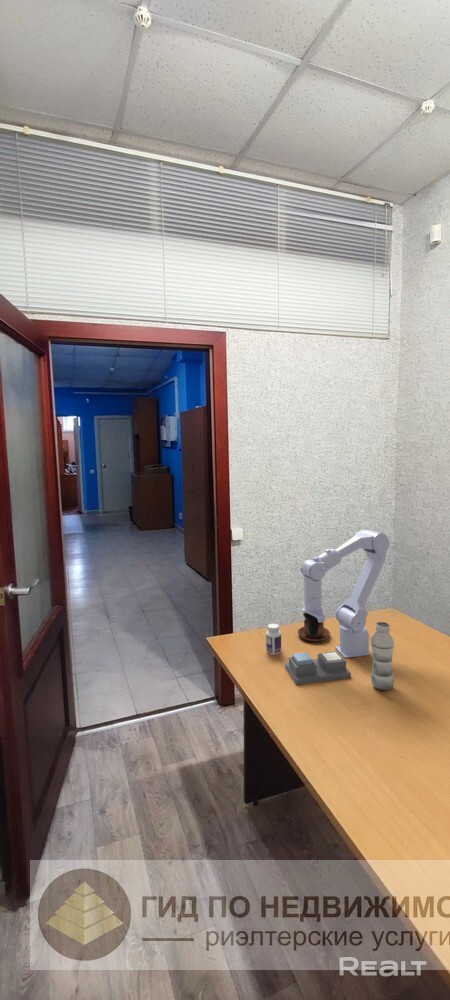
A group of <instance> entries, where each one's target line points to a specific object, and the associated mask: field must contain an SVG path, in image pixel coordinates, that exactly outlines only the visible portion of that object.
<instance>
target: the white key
mask: <svg viewBox="0 0 450 1000" xmlns="http://www.w3.org/2000/svg"><path fill="white" fill-rule="evenodd" d="M331 652H332V653H327V652H323V653H324V654H322V657H323V658H324V659H325V661H326V662H334V661H342V659H341V658H340V657H339V655H338V654H337V653H336V652H334V651H331Z"/></svg>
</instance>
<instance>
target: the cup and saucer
mask: <svg viewBox="0 0 450 1000" xmlns="http://www.w3.org/2000/svg"><path fill="white" fill-rule="evenodd" d="M324 623H325V622H321V623H320V625H319V628H318V632H317V635H312V636H311V635H310V633H309V630H308V625H307V622H306V619H305V618H304V620H303V626H302V627H300V628H298V631H297V633H298V635H299V637H301V639H303V640H305V641H309V642H322V641H325V640H327V639H328V638H329V637H330V636H331V632H330V631H329V630H328V629H327V628H325V627H324V625H325V624H324Z"/></svg>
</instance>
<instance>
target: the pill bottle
mask: <svg viewBox="0 0 450 1000" xmlns="http://www.w3.org/2000/svg"><path fill="white" fill-rule="evenodd" d="M265 641H266V642H265V643H266V644H265V648H266V649H265V650H266V653H267V654H269V655H273V656H274V655H275V656H276V655H279V654H281V653H282V651H283V650H282V649H283V648H282V633H281V631H280V625H279V624H278V623H269V624H268V625H267V631H266V632H265Z"/></svg>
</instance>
